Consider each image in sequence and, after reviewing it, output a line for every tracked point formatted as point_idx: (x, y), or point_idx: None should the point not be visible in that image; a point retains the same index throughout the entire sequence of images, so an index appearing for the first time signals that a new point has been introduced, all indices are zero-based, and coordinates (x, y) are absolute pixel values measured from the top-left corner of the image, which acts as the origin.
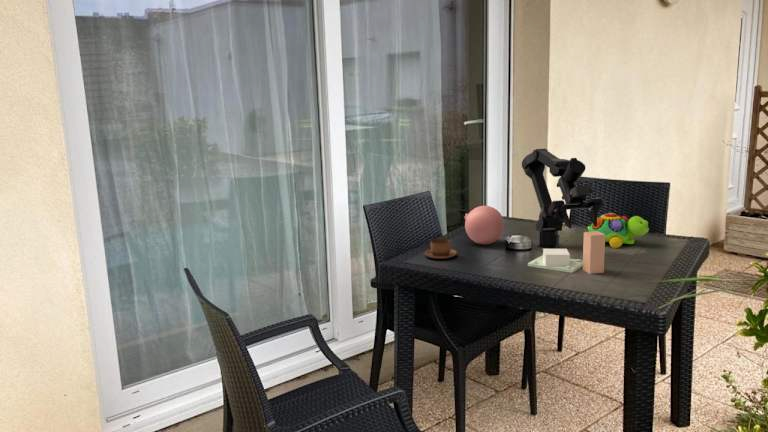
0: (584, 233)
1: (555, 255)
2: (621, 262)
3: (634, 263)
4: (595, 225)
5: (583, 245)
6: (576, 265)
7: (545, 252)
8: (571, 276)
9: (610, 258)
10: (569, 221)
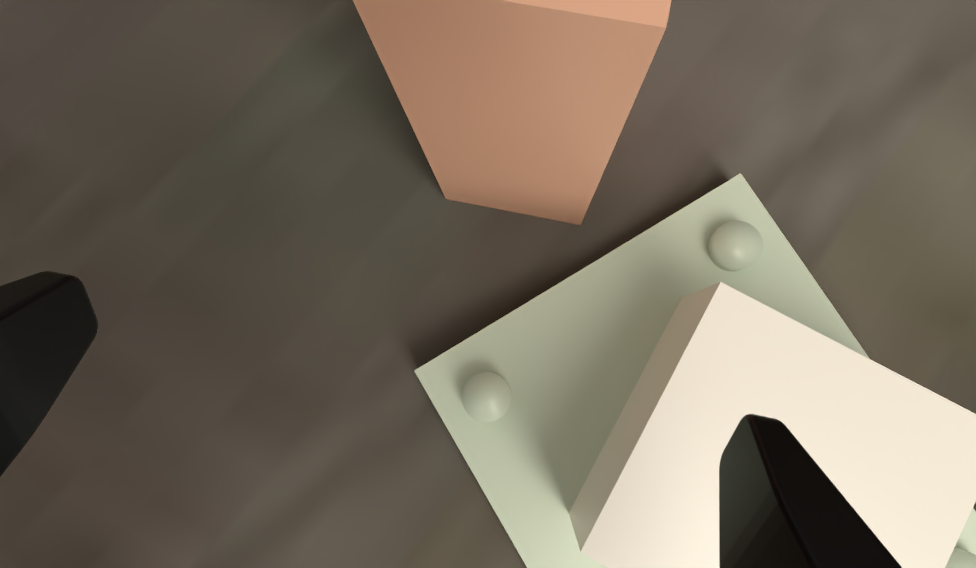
0: (667, 7)
1: (881, 368)
2: (116, 253)
3: (49, 176)
4: (82, 294)
5: (617, 137)
6: (608, 282)
7: (952, 526)
8: (800, 102)
9: (97, 411)
10: (844, 554)
